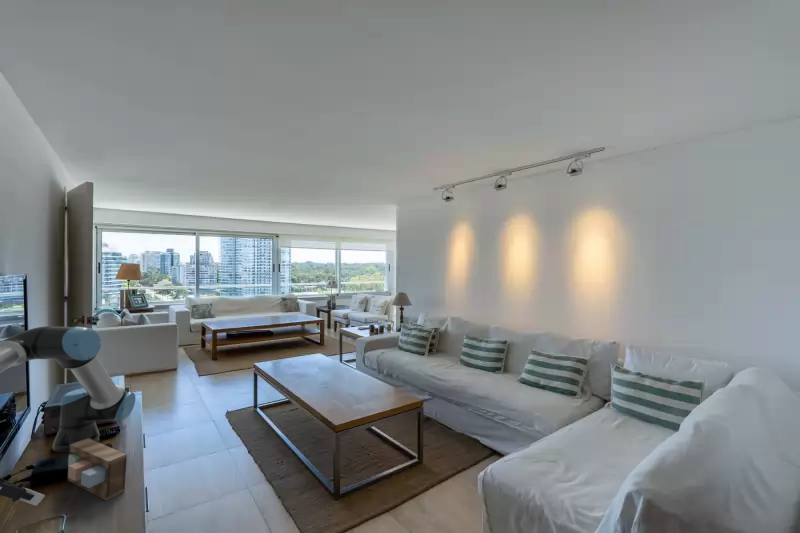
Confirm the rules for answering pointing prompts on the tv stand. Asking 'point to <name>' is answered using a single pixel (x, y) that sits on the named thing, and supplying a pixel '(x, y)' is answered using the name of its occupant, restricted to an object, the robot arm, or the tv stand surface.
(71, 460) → the sage key
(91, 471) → the slate key
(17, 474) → the tv stand surface
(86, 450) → the wooden block
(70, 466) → the terracotta key
